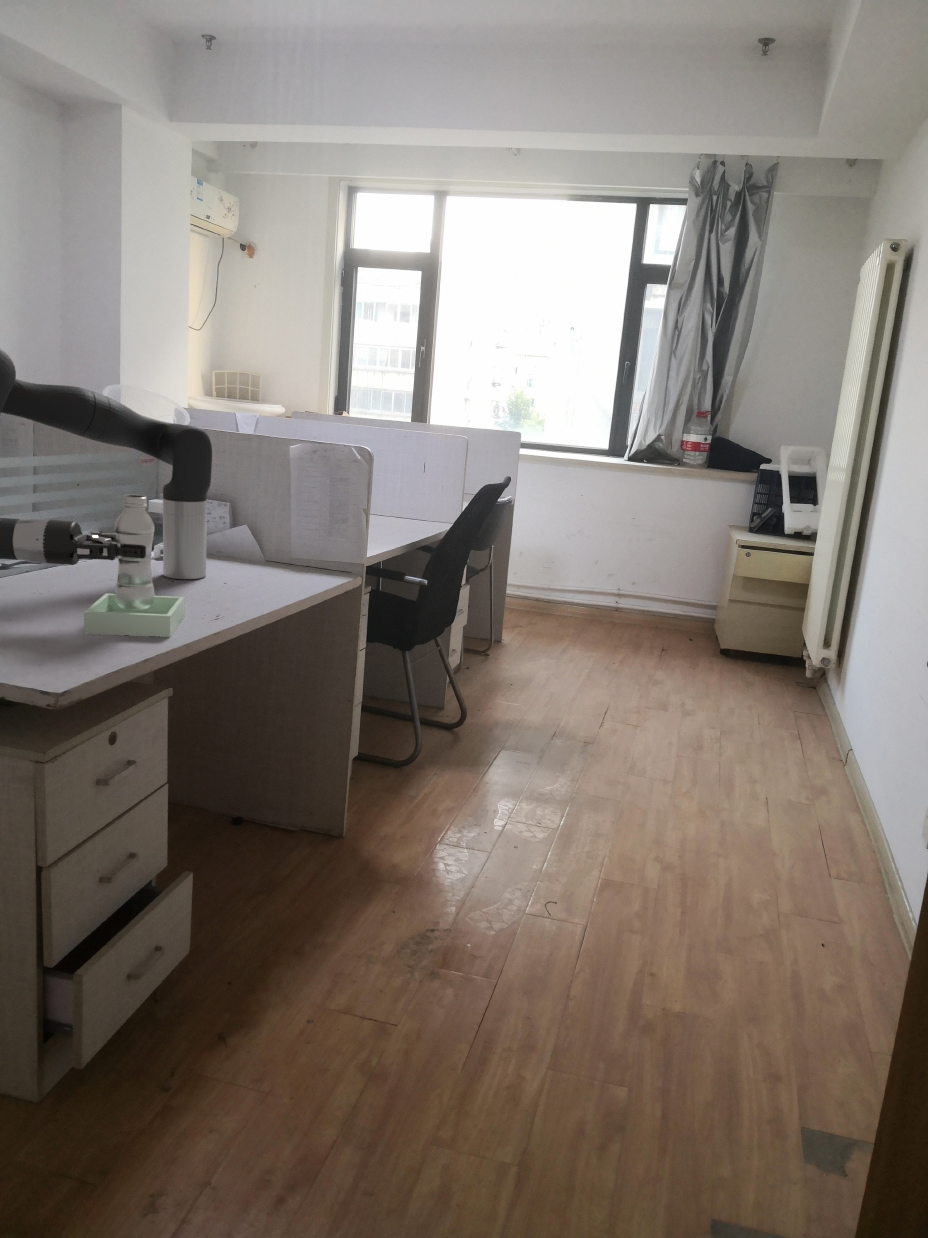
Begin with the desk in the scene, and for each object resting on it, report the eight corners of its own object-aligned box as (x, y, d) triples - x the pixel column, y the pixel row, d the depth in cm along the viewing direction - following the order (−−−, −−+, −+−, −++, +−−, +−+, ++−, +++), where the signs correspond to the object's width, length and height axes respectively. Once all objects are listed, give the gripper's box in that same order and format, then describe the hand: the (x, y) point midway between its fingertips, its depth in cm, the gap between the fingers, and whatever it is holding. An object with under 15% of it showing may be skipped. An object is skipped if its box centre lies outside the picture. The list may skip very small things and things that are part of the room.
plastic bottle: (162, 609, 156) (164, 497, 151) (130, 615, 150) (130, 499, 145) (138, 602, 159) (139, 492, 154) (106, 607, 153) (106, 493, 148)
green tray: (106, 613, 161) (105, 593, 160) (184, 616, 163) (184, 597, 162) (84, 633, 147) (83, 612, 146) (170, 637, 150) (170, 615, 149)
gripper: (33, 526, 142) (140, 533, 144) (60, 514, 156) (158, 521, 158) (34, 571, 144) (140, 578, 146) (61, 555, 157) (158, 561, 160)
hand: (149, 548), depth 152 cm, fingers closed on plastic bottle, 6 cm apart
